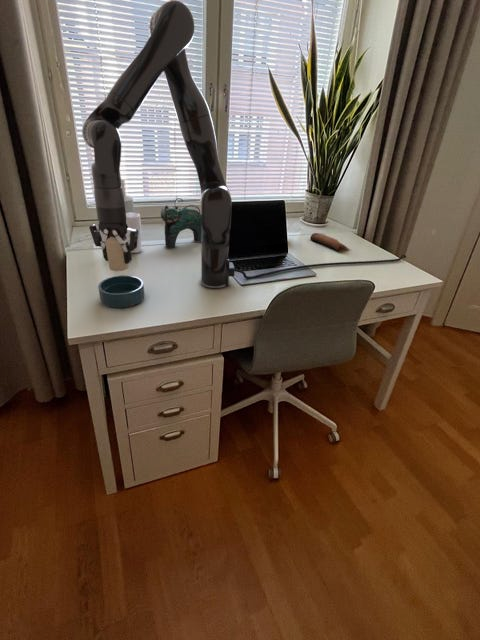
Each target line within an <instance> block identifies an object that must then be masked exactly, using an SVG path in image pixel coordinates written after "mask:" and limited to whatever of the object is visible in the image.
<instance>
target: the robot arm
mask: <svg viewBox="0 0 480 640" xmlns="http://www.w3.org/2000/svg"><path fill="white" fill-rule="evenodd" d="M148 26H149V27H148V29H149V37H148V39H147V41H146V42H145V44H144V46H143V47H142V48H141V49H140V51H139V52H138V53H137V55H135V57H134V58H133V60H132V61H131V62H130V63H129V64H128V65H127V67H126V68H125V70H124V71H122V73H121V74H120V76H119V77H118V78H117V80H116V81H115V83H114V84H113V86H112V87H111V89H110V90H109V92H108V93H107V95H106V97H105V99H103V101H102V102H101V103H99V105H98V106H97V107H95V109H94V110H93V111H92V112H91V113H90V114H89V115H88V117H87V118H86V119H85V121H84V123H83V125H82V128H81V134H82V139H83V140H84V142H85V144H86V145H88V146H89V147H90V148H92V149H93V156H94V162H92V164H91V167H90V168H91V177H92V181H93V182H92V183H93V197H94V202H95V210H96V216H97V221H98V224H97V223H93V224H91V225H89V227H88V228H89V231H90V234H91V238H92V241H93V244H94V246H95V247H99V248H100V249H101V250H102V255H103V259H104V260H105V261H106V262H108V256H107V250H106V243H105V241H106V240H107V238H109V237H116V239H117V241H118V242H119V244H120V245H121V246H122V248H123V250H124V260H125V264H128V265H129V264H130V263H131V262H132V259H133V258H132V253H131V251H133V250H134V249H136V248H137V240H138V230H137V229H134V230H133V229H130V228H128V226H127V224H126V213H127V211H126V203H125V194H124V191H123V183H122V176H121V170H120V169H121V161H122V160H121V159H122V139H121V135H120V131H119V128H121V126H122V125H124V124H127V123H129V122H130V121H132V120H133V118H134V117H135V115H136V114H137V112H138V111H139V109H140V108H141V106H142V105H143V103H144V102H145V100H146V98H147V97H148V95H149V94H150V93H151V90H152V89H153V87H155V86H154V85H156V83H157V82H158V80H159V78H160V77H161V75H162V74H164V78H165V79H166V80H165V81H166V83H167V87H168V91H169V94H170V98H171V101H172V105H173V107H174V111H175V114H176V118H177V122H178V127H179V130H180V133H181V137H182V139H183V142H184V144H185V147H186V150H187V152H188V155H189V156H190V159H191V160H192V163H193V165H194V167H195V171H196V174H197V179H198V182H199V187H200V195H201V199H200V201H201V205H200V206H201V207H200V208H201V210H200V214H201V242H200V243H201V247H200V248H201V254H200V255H201V257H200V258H201V264H200V266H201V270H200V273H201V277H200V279H201V280H200V284H201V285H202V286H203V287H205V288H208V289H215V290H216V289H223V288H225V287H229V285H230V284H229V282H230V277H235V272H237V273H240V274H242V275H243V278H245V279H247V280H250V279H257V278H260V277H264V276H269V275H273V274H277V273H282V272H288V271H293V270H298V269H299V270H300V269H306V268H314V267H324V266H339V265H360V264H361V265H362V264H379V263H392V262H393V263H394V262H399V261H401V260H402V259H403V258H404V259H405V258H407V255H406V254H402V255H401V256H400V257H399V258H394V259H393V258H392V259H381V260H380V259H379V260H378V259H377V260H363V261H360V260H359V261H340V262H326V263H325V262H324V263H313V264H305V265H299V266H293V267H286V268H281V269H277V270H272V271H269V272H263V273H258V274H256V275H251V276H249V275H247V273H246V272H245V271H243V270H241V269H238V268H236V267H235V265H234V263H233V262H231V261H230V258H229V257H230V234H231V229H232V228H231V225H232V209H233V202H232V201H233V200H232V196H231V192H230V190H229V188H228V186H227V183H226V180H225V177H224V174H223V172H222V168H221V165H220V161H219V152H218V144H217V138H216V133H215V127H214V123H213V119H212V116H211V112H210V108H209V106H208V103H207V101H206V98H205V97H204V95H203V93H202V92H201V90H200V88H199V87H198V85H197V83H196V81H195V80H194V78H193V75H192V73H191V69H190V65H189V61H188V57H187V52H186V48H188V46H189V45H190V44H191V42H192V40H193V38H194V35H195V21H194V16H193V14H192V12H191V10H190V9H189V7H188V6H187V5H186V4H185V3H183V2H182V1H180V0H168V1H166V2H164V3H163V4H161V5H160V6H159V8H157V9H156V10H155V11H154V13H153V14H152V15H151V17H150V20H149V25H148ZM127 232H128V234H129V237H130V244H129V240H128V238H127V236H126V233H127ZM101 233H102V234H101ZM123 238H124V239H125V240H124V241H123V240H122V239H123Z"/></svg>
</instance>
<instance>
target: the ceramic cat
mask: <svg viewBox="0 0 480 640" xmlns="http://www.w3.org/2000/svg"><path fill="white" fill-rule="evenodd" d="M178 200H180V201H182V202H184V200H183V199H182V198H180V197H178V198H176V199H174V203H176V202H177V201H178ZM193 207H194V208H193ZM195 208H197V209H198V210H197V209H195ZM160 218H161V220H162V221H163V222H164V243H165V247H166V248H168V249H173V248H176V242H177V239H178V236H179V235H180V232H183V231H184V230H190V231H191V232H192V235H193V241H194V242H195V243H201V210H200V208H199V207H198V206H197V205H195V204H190V205H189V204H188V205H186V206H184V207H180V208H179V206H176V205H174V207H173V206H170V205H167V204H166V205H165V206H164V207H162V208H161V210H160Z"/></svg>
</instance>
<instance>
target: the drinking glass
mask: <svg viewBox="0 0 480 640" xmlns="http://www.w3.org/2000/svg"><path fill="white" fill-rule="evenodd" d="M126 224H127V226H128V228H130V229H133V230H134V229H137V230H138V240H137V248H136V249H134V250H133V251H131V254H138V253H141V252H142V251H143V248H142V219H141V214H140V213H138V212H126ZM126 236H127V238H128V240H129V244H130V237H129V234H128V232H127V233H126Z"/></svg>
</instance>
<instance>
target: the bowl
mask: <svg viewBox="0 0 480 640" xmlns="http://www.w3.org/2000/svg"><path fill="white" fill-rule="evenodd" d="M97 289H98V295H99V300H100V302H101V303H102V304H103V305H104V306H107V307H109V308H110V307H111V308H119V309H121V308H122V309H123V308H129V307H132V306H135V305H137V304H139V303H141V302H142V301H143V300H145V286H144V281H143V280H142V278H140V277H137V276H134V275H126V274H125V275H124V274H123V275H114V276H110V277H107V278H105V279H103V280H102V281H100V282H99V283H98V285H97Z"/></svg>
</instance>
